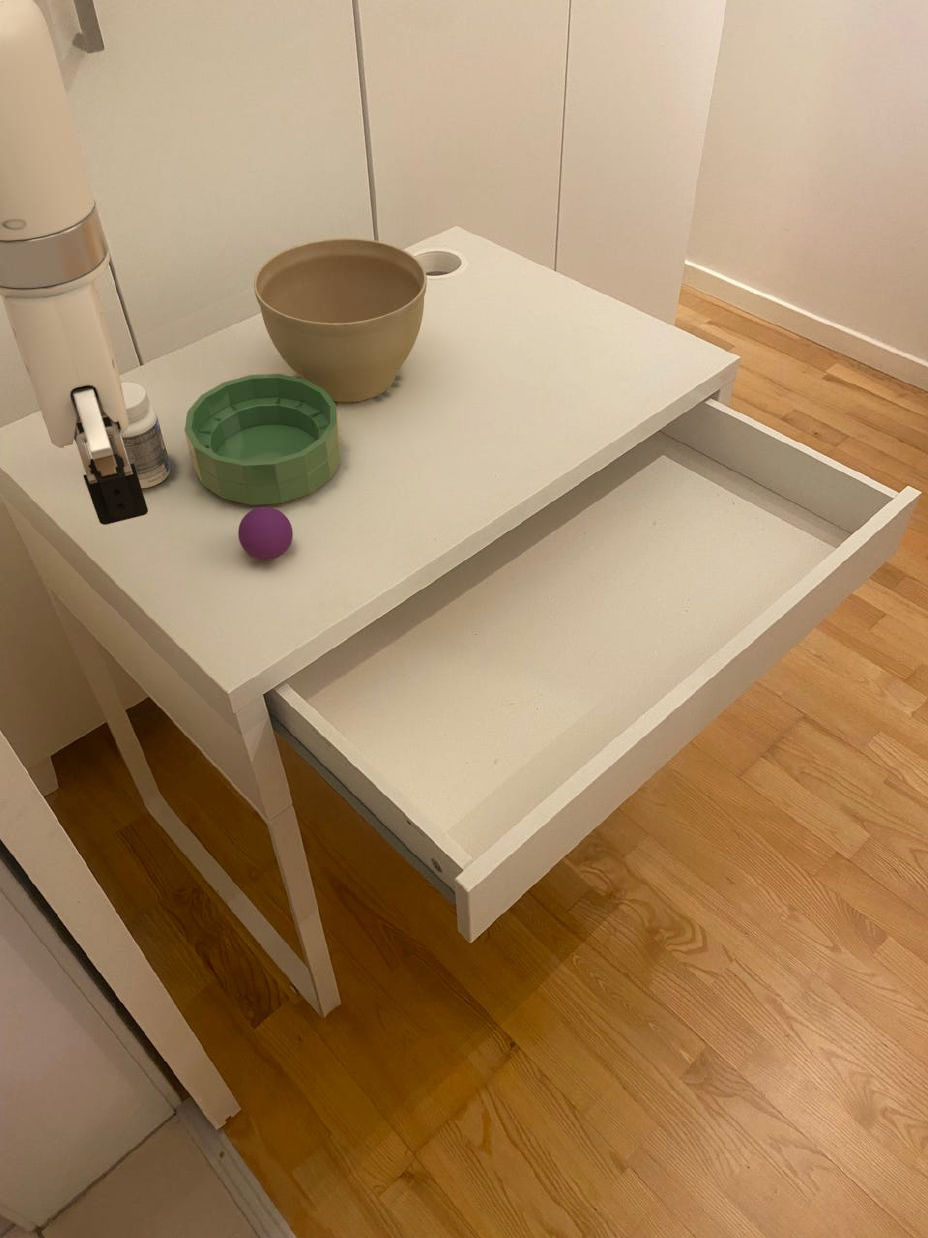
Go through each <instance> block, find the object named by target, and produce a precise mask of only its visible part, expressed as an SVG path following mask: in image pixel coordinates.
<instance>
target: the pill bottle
mask: <svg viewBox="0 0 928 1238" xmlns="http://www.w3.org/2000/svg"><path fill="white" fill-rule="evenodd" d="M121 386H122V391H123V396H124V401H125V406H126V412H127V417H128V423H129V426H128V428H127V430H126V431H125V432H124V433H123V434H122V431H121V436H122V440H123V443H124V446H125V449H126V452H127V456H128V459H129V462H130V464H132V463H134V465H135V468H136V472H137V475H138V478H139V482H140V485H141V488H142V489H148V488H151V487H154V486H157V485H159V484H161V483H162V482H163V481H165V480H166V479H167V478H168V476H169V475H170V472H171V462H170V458H169V455H168V451H167V448H166V445H165V444H166V443H165V441H164V436H163V433H162V430H161V425H160V422H159V417H158V413H157V412H156V410H155V408H154V407H153V406H152V405H150V399H149V397H148V394H147V391H146V390H145V388H144V387H143V386H142V385H141V384H138V383H135V382H127V381H126V382H121ZM109 441H110V444H111V448H112V451H113V454H115V453H117V454H118V451H117V448H116V445H115V442H114V438H113V437H109Z"/></svg>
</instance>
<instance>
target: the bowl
mask: <svg viewBox="0 0 928 1238" xmlns="http://www.w3.org/2000/svg"><path fill="white" fill-rule="evenodd" d="M339 427H340V426H339V416H338V407H337V403H335V401H333V400H332V399H331V397H330V396H329V395H328V393H327V392H326V391H325V390H324V389H322V388H320V387H319V386H317V385H315V384H313V383H311V382H309V381H307V380H306V379H302V378H301V377H297V376H292V375H287V374H281V373H271V374H270V373H268V374H267V373H266V374H263V373H262V374H250V375H246V376H241V377H238V378H235V379H231V380H227V381H224V382H222V383H220V384H218V385H215V386H214V387H213V388H211V389H209V390H208V391H206V392H204V393H202V394H201V395H200V396H199V397H198V398H197V399H196V400H195V402H194V403H193V404H192V405H191V407H190V408H189V409H188V410H187V411H186V418H185V426H184V434H185V437H186V442H187V447H188V450H189V454H190V458H191V461H192V467H193V470H194V471H195V473H196V475H197V477H198V479H199V481H200V483H201V484H202V486H203V487H205V488H206V489H208V490H209V491H210V492H212V493H214V494H215V495H217V496H218V497H220V498H222V499H224V500H227V501H228V500H229V501H233V502H237V503H241V504H246V505H253V506H254V505H270V504H271V505H272V504H283V503H285V502H288V501H292V500H294V499H298V498H301V497H305V496H308V495H310V494H312V493H313V492H314V491H316V490H317V489H318V488H320V487H321V486H323V485H324V484H326V483H327V482H328V481H330V480H331V478H332V476H333V475H334V474H335V472H336V470H337V468H338V467H339V465H340V464H341V461H342V460H341V459H342V458H341V456H342V455H341V438H340V437H341V436H340V428H339Z"/></svg>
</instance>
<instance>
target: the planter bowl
mask: <svg viewBox="0 0 928 1238" xmlns="http://www.w3.org/2000/svg"><path fill="white" fill-rule="evenodd" d="M427 285H428V276H427V272H426V269H425V267H424V265H423V264H422V262H421V261H420V260H419V259H418V258H417V257H416V256H414V255H413V254H412V253H410V252H409V251H407V250H406V249H403V248H401V247H399V246H396V245H393V244H390V243H387V242H384V241H379V240H374V239H368V238H357V237H338V238H327V239H320V240H319V239H318V240H314V241H313V240H312V241H308V242H304V243H300V244H298V245H294V246H292V247H289V248H286V249H284V250H282V251H280V252H278V253H276V254H275V255H273V256H272V257H270V258H269V259H267V260H266V261H265V262H264V263H262V264H261V266H260V267H259V269H258V270H257V272H256V274H255V277H254V280H253V288H254V289H253V290H254V295H255V297H256V300H257V303H258V305H259V309H260V312H261V313H260V314H261V316H262V320H263V323H264V326H265V329H266V330H267V331H266V332H267V334H268V337H269V338H270V340H271V342H272V344H273V346H274V347H275V349H276V351H277V353H279V355H280V357H281V358H282V359H283V361H284V362H285V363H286V364H287V365H288V366H289V367H290V368H291V370H292V371H293V372H295V374H296V375H298V376H299V378H302V379H306V380H307V381H309V382H311V383H313V384H315V385H317V386H319V387H320V388H322V389H324V390H325V391H326V392H327V393H328V395H329V396H330V397H331V399H332V400H333V401H334V402H339V403H352V402H361V401H366V400H369V399H372V398H374V397H377V396H379V395H381V394H383V393H384V392H385V391H388V389H389V388H390V387H391V386H392V385H393V383H394V382H395V379H396V376H397V372H398V371H399V369H400V368H401V367H402V366H403V365H404V363H405V362H406V360H407V358H408V357H409V355H410V353H411V352H412V350H413V348H414V346H415V343H416V341H417V338H418V336H419V333H420V330H421V327H422V321H423V318H424V317H423V315H424V309H425V294H426V292H427Z"/></svg>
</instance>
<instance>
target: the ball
mask: <svg viewBox="0 0 928 1238" xmlns="http://www.w3.org/2000/svg"><path fill="white" fill-rule="evenodd" d="M237 531H238V532H237V535H238V541H239V543H240V546H241V547H242V549H243V550H244V552H246V554H248V555H249V556H251V557H252V558H254V559H256V560H260V561H272V560H275V559H278V558H280V557H282V556H283V555H284V554H285V553H286V552H287V551H288V550H289V548H290V546H291V544H292V542H293V538H294V537H293V535H294V532H293V526H292V524H291V521H290V519H289V518H288V516H287V515H286V514H284V513H283V512H282V511H281V510H279V509H277V508H274V507H272V506H259V507H256V508H253V509H251V510H249V511H248V512H247V513H246V514H244V516H243V517H242V518H241V520H240V523H239V526H238V530H237Z"/></svg>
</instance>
